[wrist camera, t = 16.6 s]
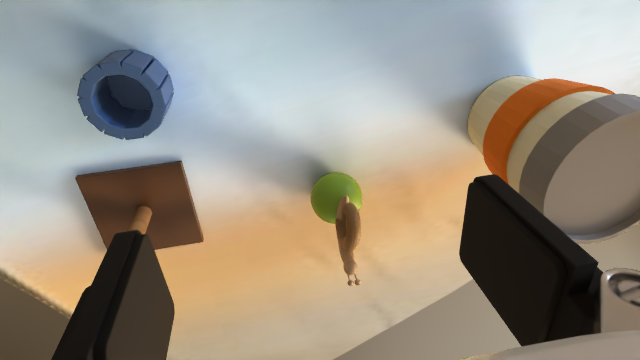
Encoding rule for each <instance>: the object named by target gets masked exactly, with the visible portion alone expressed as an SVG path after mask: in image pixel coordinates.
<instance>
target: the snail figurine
mask: <svg viewBox="0 0 640 360" xmlns="http://www.w3.org/2000/svg"><path fill="white" fill-rule="evenodd" d="M311 204H312V207H313V209H314V211H315V213H316V214H317V215H318V216H319V217H320V218H321V219H322V220H324V221H326V222H328V223H333V224H336V231H337V238H338V244H339V250H340V255H341V258H342V260H343V263H344V271H345V272H346V274H347V275H348V278H349V275H355V278H356V274H355V273H356V272H357V264H356V262H355V261H354V255H353V250H354V249H355V248H356V247H357V246H358V244H359V241H360V235H361V221H360V216H359V210H360V207H361V204H362V192H361V189H360V187H359V185H358V183H357V182H356V181H355V180H354V179H353V178H352V177H350V176H349V175H347V174H344V173H338V172H335V173H329V174H326V175H324V176H323V177H321V178H320V179H319V180H318V181H317V182H316V183H315V185H314V187H313V189H312V192H311ZM353 284H354V282H353V281H352V280H350V279H349V281H348V285H349V286H352V285H353ZM355 284H356V285H360V284H361V281H360V280H359V279H357V278H356V280H355Z"/></svg>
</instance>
